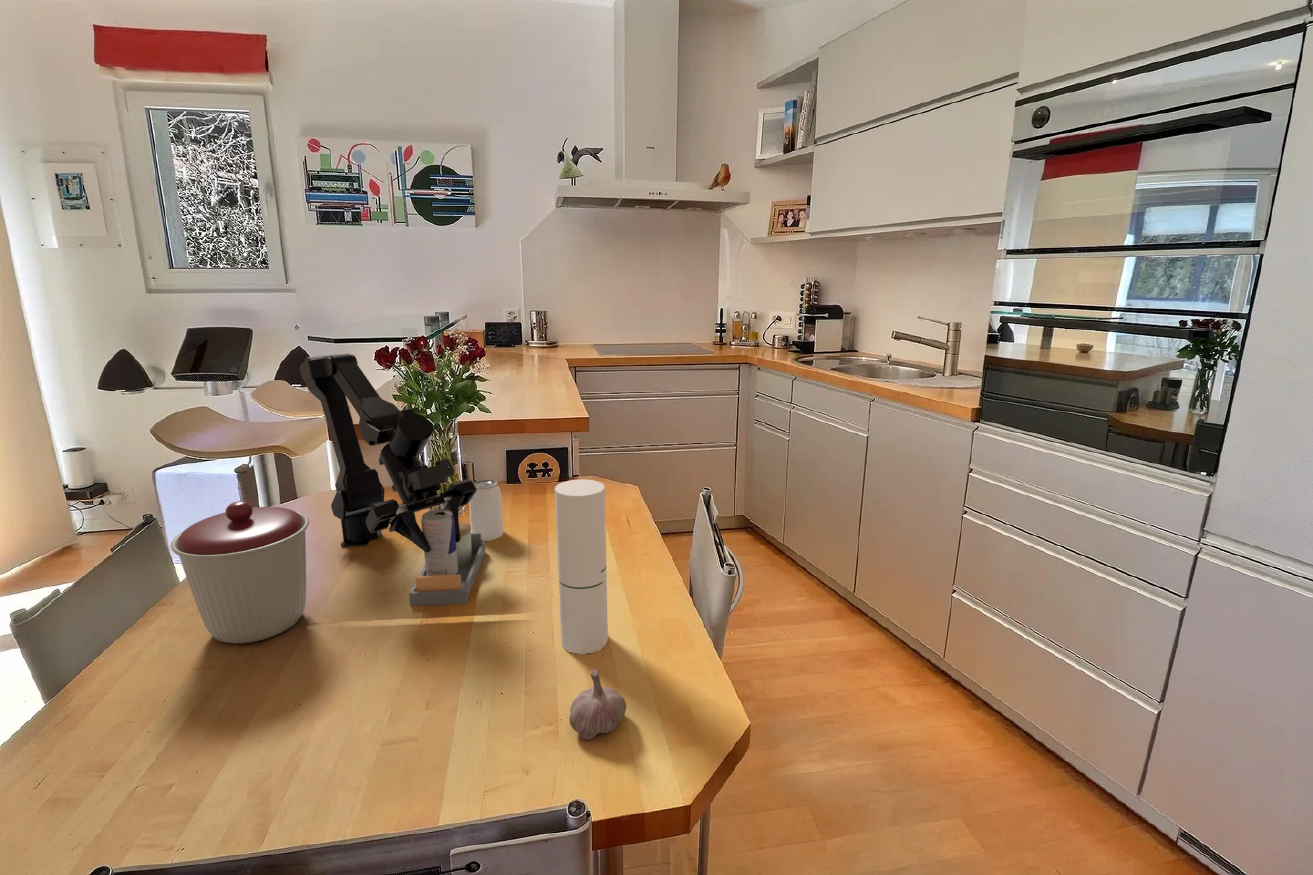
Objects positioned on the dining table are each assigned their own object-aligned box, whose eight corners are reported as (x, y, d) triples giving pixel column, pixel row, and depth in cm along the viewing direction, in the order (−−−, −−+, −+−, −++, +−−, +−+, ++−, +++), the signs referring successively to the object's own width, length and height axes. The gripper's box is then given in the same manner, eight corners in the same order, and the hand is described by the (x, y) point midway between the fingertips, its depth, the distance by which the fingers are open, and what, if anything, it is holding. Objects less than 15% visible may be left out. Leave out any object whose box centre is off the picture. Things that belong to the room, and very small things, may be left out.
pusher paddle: (417, 601, 111) (415, 578, 110) (419, 598, 112) (416, 576, 111) (461, 599, 112) (459, 576, 111) (462, 596, 113) (460, 574, 111)
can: (507, 532, 142) (504, 479, 139) (497, 544, 136) (493, 489, 132) (478, 531, 142) (474, 478, 139) (467, 543, 136) (462, 488, 133)
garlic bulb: (577, 752, 79) (575, 694, 76) (561, 714, 85) (558, 660, 83) (636, 734, 82) (636, 678, 79) (616, 699, 88) (615, 647, 86)
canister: (162, 644, 100) (134, 515, 95) (267, 590, 117) (248, 477, 111) (249, 669, 94) (224, 532, 89) (347, 608, 111) (330, 490, 105)
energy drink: (463, 572, 118) (458, 509, 115) (451, 586, 113) (445, 521, 110) (435, 570, 119) (429, 508, 115) (421, 584, 114) (415, 519, 110)
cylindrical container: (615, 633, 103) (612, 482, 97) (596, 658, 97) (592, 498, 90) (573, 625, 106) (568, 477, 99) (552, 649, 99) (545, 492, 93)
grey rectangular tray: (410, 609, 110) (407, 582, 109) (438, 557, 130) (435, 534, 128) (466, 607, 111) (464, 580, 110) (485, 555, 130) (484, 532, 129)
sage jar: (438, 569, 123) (435, 534, 121) (445, 556, 128) (442, 522, 127) (470, 568, 123) (467, 533, 122) (475, 554, 129) (473, 521, 127)
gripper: (365, 458, 106) (405, 541, 101) (467, 436, 119) (507, 509, 115) (349, 493, 113) (386, 572, 109) (448, 468, 126) (484, 538, 122)
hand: (444, 546), depth 113 cm, fingers closed on energy drink, 5 cm apart
